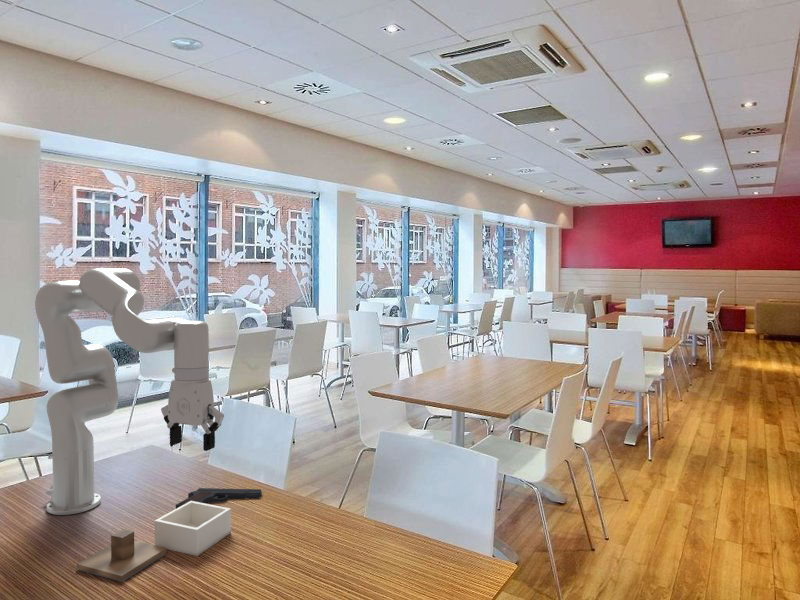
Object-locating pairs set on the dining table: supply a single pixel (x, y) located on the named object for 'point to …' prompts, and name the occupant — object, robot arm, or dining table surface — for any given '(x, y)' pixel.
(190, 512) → the box
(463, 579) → the dining table surface
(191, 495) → the handgun
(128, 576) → the mat
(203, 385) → the robot arm
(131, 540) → the lid
